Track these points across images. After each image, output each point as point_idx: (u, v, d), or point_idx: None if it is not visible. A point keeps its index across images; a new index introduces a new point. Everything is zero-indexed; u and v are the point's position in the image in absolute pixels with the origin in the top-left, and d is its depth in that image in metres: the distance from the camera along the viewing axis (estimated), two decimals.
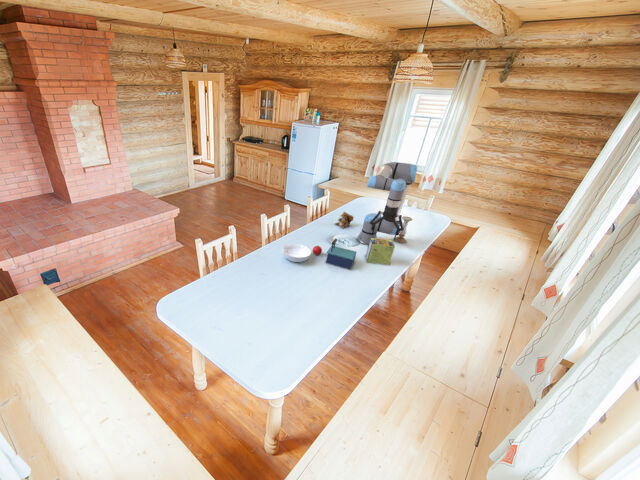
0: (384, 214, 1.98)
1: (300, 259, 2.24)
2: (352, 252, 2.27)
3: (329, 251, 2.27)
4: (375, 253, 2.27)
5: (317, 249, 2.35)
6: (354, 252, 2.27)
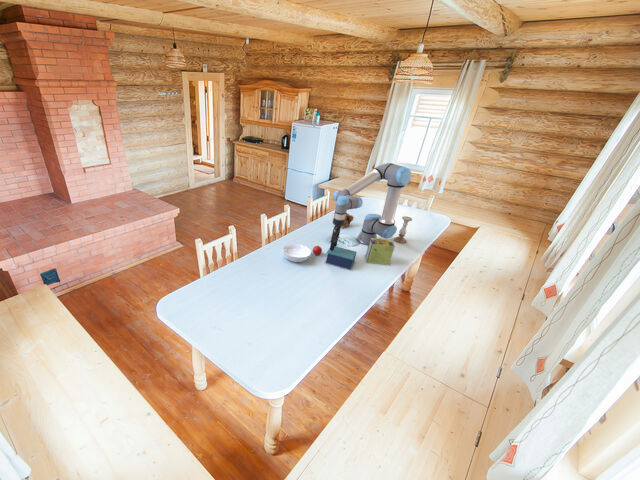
0: None
1: (300, 259, 2.24)
2: (352, 252, 2.27)
3: (329, 251, 2.27)
4: (375, 253, 2.27)
5: (317, 249, 2.35)
6: (354, 252, 2.27)
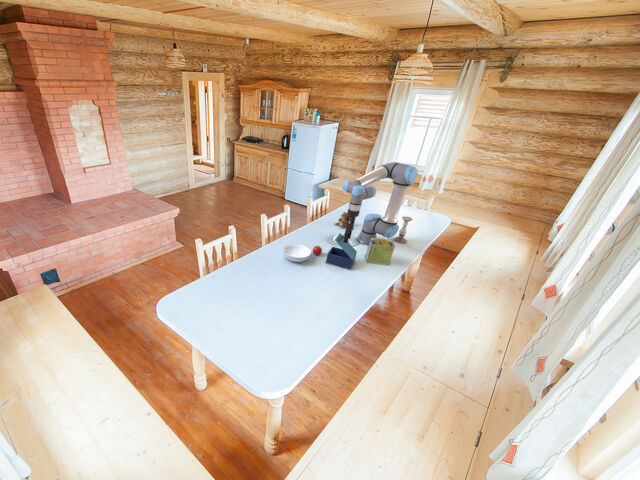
0: None
1: (300, 259, 2.24)
2: (353, 251, 2.26)
3: (337, 239, 2.20)
4: (375, 253, 2.27)
5: (317, 249, 2.35)
6: (355, 251, 2.26)
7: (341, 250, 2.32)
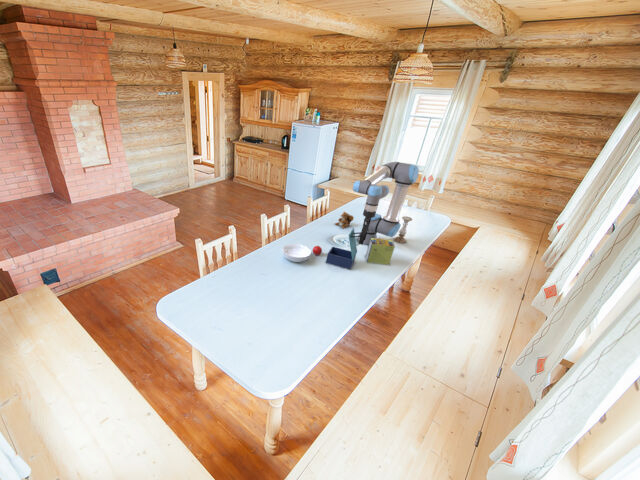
0: None
1: (300, 259, 2.24)
2: (355, 250, 2.25)
3: (350, 235, 2.14)
4: (375, 253, 2.27)
5: (317, 249, 2.35)
6: (356, 251, 2.26)
7: (341, 250, 2.32)
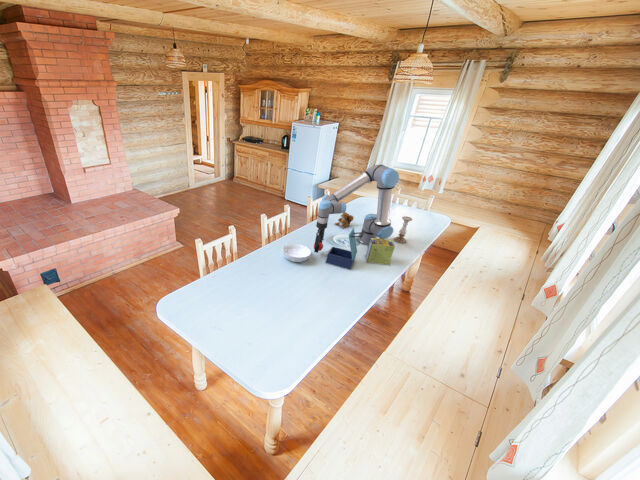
0: None
1: (300, 259, 2.24)
2: (355, 250, 2.25)
3: (350, 235, 2.14)
4: (375, 253, 2.27)
5: None
6: (356, 251, 2.26)
7: (341, 250, 2.32)
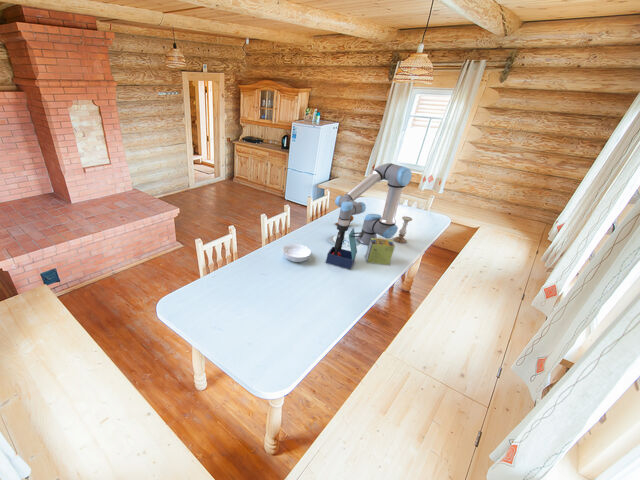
0: None
1: (300, 259, 2.24)
2: (355, 250, 2.25)
3: (350, 235, 2.14)
4: (375, 253, 2.27)
5: None
6: (356, 251, 2.26)
7: (341, 250, 2.32)
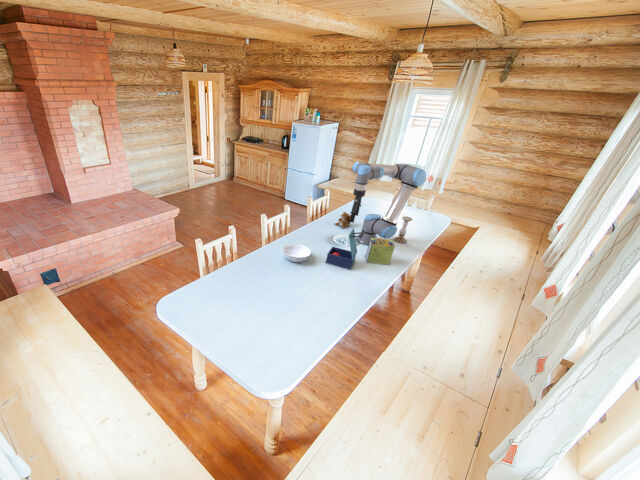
0: None
1: (300, 259, 2.24)
2: (355, 250, 2.25)
3: (350, 235, 2.14)
4: (375, 253, 2.27)
5: None
6: (356, 251, 2.26)
7: (341, 250, 2.32)
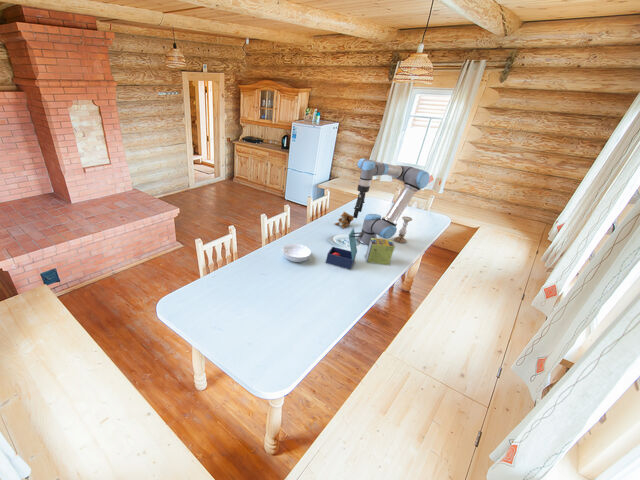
0: None
1: (300, 259, 2.24)
2: (355, 250, 2.25)
3: (350, 235, 2.14)
4: (375, 253, 2.27)
5: None
6: (356, 251, 2.26)
7: (341, 250, 2.32)
